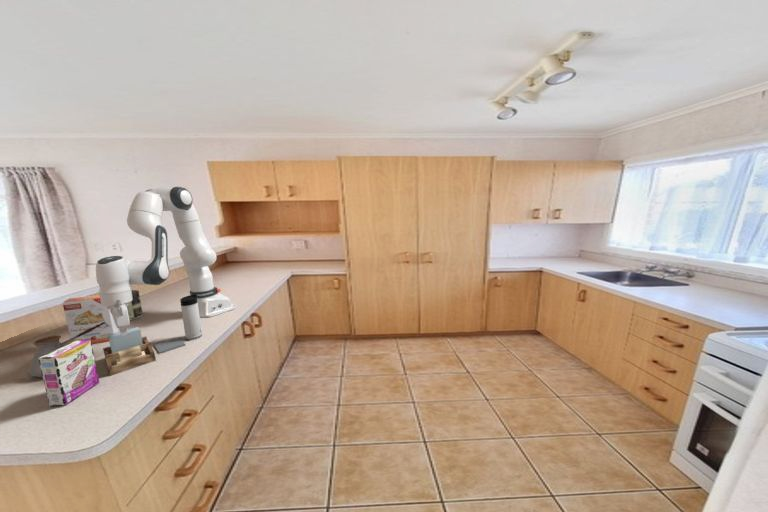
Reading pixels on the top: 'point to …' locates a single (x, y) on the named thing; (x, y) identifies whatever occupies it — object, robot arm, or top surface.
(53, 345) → the coffee pot
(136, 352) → the upper offcut
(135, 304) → the coffee can
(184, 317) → the travel mug
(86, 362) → the candy bar box
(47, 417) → the top surface
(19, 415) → the top surface
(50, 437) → the top surface
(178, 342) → the mat
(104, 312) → the cracker box
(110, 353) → the rack
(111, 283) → the robot arm
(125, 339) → the board
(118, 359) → the block
